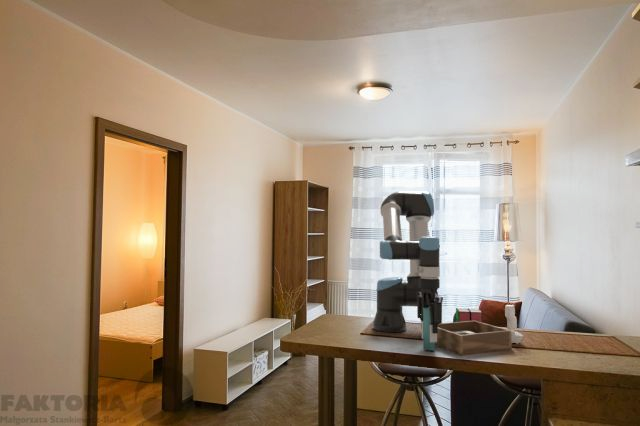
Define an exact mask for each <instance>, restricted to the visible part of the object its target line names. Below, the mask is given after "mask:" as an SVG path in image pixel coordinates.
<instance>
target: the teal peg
mask: <svg viewBox="0 0 640 426" xmlns="http://www.w3.org/2000/svg"><path fill="white" fill-rule="evenodd" d="M430 323H431V317H430V309H429V307H427V308H423V339H422V342H423V343H422V345H423V347H422V349H423V350H425V351H435V350H436V345H435V342H430Z"/></svg>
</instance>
